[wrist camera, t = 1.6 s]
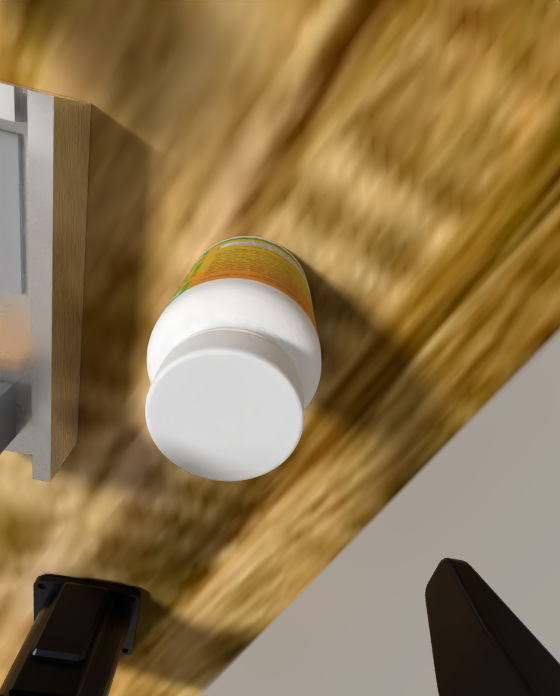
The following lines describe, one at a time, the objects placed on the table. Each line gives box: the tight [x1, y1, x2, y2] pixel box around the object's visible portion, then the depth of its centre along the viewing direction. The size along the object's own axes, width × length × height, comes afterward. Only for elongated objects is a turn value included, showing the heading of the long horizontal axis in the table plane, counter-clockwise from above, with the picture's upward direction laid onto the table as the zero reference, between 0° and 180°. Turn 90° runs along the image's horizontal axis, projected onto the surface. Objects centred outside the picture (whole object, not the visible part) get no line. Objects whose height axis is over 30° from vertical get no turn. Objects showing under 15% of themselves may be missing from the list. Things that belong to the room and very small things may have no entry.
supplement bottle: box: [145, 236, 322, 481], centre depth 15 cm, size 5×5×10 cm
